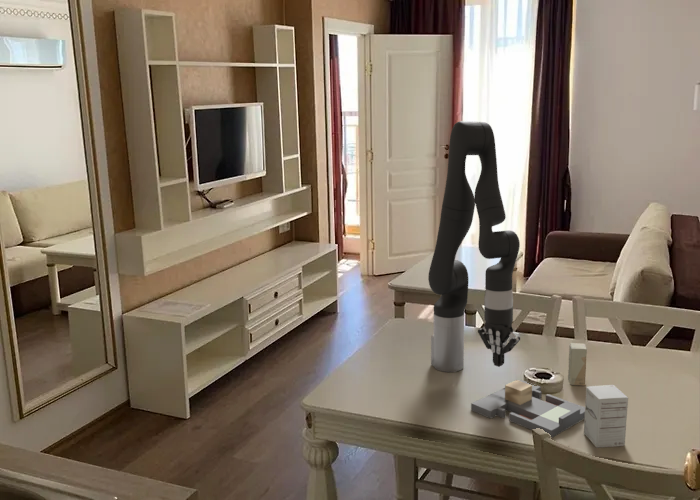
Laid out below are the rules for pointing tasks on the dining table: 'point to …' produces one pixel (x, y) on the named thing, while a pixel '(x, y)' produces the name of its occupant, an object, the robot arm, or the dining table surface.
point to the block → (518, 392)
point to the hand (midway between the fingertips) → (498, 365)
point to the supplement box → (605, 415)
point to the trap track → (532, 411)
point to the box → (577, 364)
